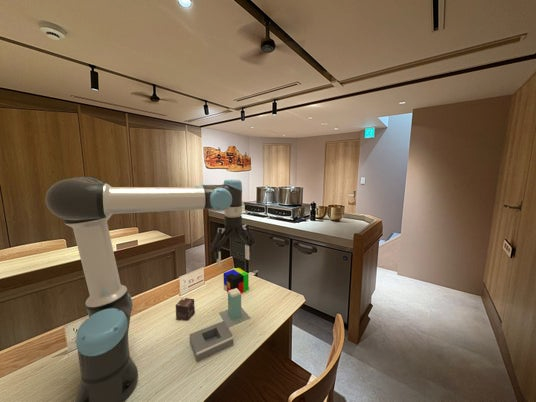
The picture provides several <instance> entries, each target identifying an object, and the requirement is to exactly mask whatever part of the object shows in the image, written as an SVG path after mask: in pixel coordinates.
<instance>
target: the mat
mask: <svg viewBox="0 0 536 402" xmlns="http://www.w3.org/2000/svg"><path fill="white" fill-rule="evenodd" d="M218 314H219V316H220V317H221V319H222V321H224V322H225V324H226V325H227V327H228V328H230V327H233V326H236V325H238V324H241V323H243V322H245V321H247V320H250V319H251V317H250V315H248V313H247V312H246V311H245V309H244V308H243V307H242V306H241V317H239V318H237V319H234V320H232V319H231V318H230V316H229V315H228V309H225V310H223V311H220V312H218Z"/></svg>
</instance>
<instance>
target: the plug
mask: <svg viewBox="0 0 536 402" xmlns="http://www.w3.org/2000/svg"><path fill="white" fill-rule="evenodd" d="M241 307H242V294H241V292H240V291H239V290H238V289H237V288H235V289H232V290H229V291H228V292H227V310H228V315H229V316H230V318H231V319H232V320H234V319H237V318H239V317H241Z"/></svg>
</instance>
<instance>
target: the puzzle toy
mask: <svg viewBox="0 0 536 402" xmlns="http://www.w3.org/2000/svg"><path fill="white" fill-rule="evenodd" d="M235 288H237V289H238V290H239V291H240V292H241V295H242V294H243V293H245V292H246V293H247V291H249V288H250V287H249V273H248V272H246V271H244V270H243V269H241V268H240V267H237V268H234V269H230V270H228V271H225V272H223V290H224V291H227V293H228V291H229V290H232V289H235Z"/></svg>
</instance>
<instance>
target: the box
mask: <svg viewBox="0 0 536 402" xmlns="http://www.w3.org/2000/svg"><path fill="white" fill-rule="evenodd" d="M195 309H196V308H195V298H190V297H189V298H188V297H182V298H181V299H180V300H179V301H177V303H176V304H175V319H176V320H177V321H186V322H187V321H189V320H190V319H191V318H192V317H193V316H194V315H195V313H196V311H195Z"/></svg>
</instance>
